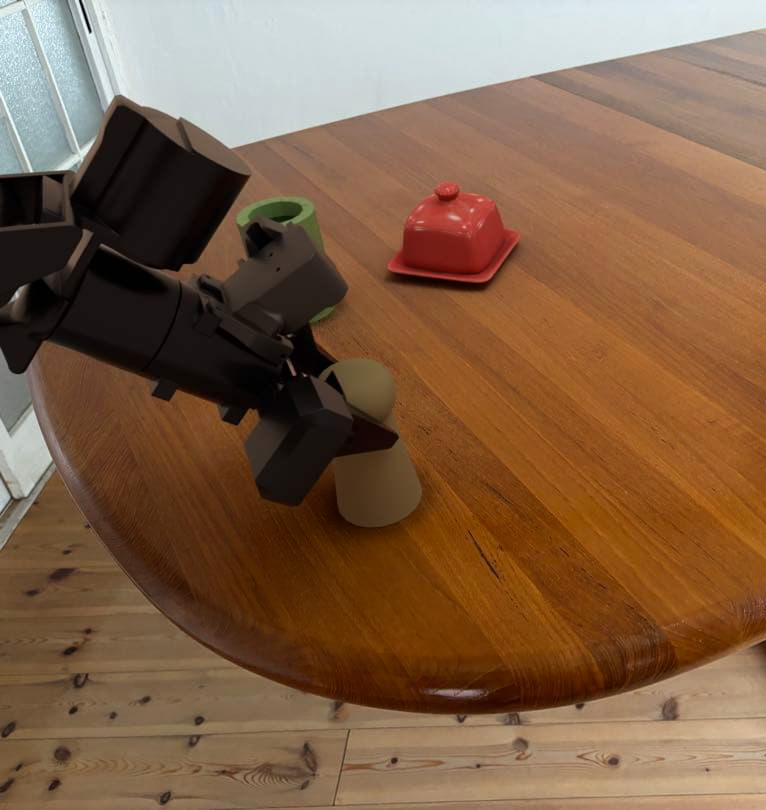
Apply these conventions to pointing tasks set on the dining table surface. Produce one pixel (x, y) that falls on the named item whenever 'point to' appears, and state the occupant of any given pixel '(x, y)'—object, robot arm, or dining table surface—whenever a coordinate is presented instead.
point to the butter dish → (454, 237)
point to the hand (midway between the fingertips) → (383, 419)
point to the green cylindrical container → (283, 213)
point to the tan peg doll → (379, 470)
